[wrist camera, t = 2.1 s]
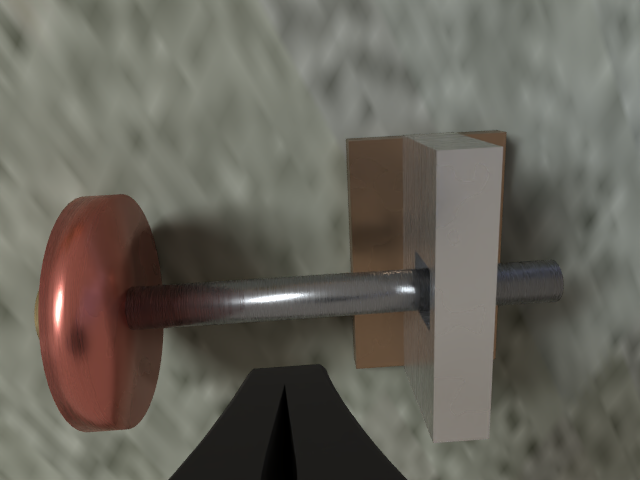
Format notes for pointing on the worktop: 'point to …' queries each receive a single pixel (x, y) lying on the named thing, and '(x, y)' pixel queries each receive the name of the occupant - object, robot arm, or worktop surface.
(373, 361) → the eye bracket
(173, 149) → the worktop surface
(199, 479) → the robot arm
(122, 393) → the red wheel with axle
